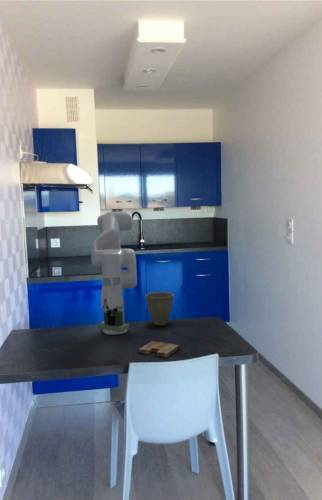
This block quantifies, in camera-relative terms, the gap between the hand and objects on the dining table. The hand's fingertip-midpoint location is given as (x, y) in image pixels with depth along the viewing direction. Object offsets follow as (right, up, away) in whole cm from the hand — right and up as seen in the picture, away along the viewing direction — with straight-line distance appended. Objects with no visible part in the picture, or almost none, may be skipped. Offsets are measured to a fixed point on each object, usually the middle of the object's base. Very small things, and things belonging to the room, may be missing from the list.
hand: (113, 323), depth 191 cm
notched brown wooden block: (+19, -14, +9) cm, 25 cm away
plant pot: (+20, -9, +52) cm, 57 cm away
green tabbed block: (+1, -2, +2) cm, 3 cm away
